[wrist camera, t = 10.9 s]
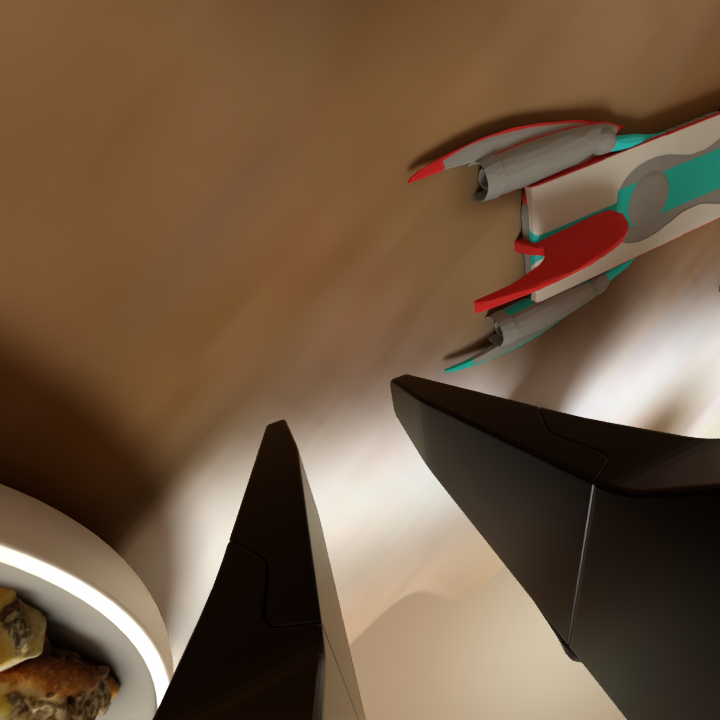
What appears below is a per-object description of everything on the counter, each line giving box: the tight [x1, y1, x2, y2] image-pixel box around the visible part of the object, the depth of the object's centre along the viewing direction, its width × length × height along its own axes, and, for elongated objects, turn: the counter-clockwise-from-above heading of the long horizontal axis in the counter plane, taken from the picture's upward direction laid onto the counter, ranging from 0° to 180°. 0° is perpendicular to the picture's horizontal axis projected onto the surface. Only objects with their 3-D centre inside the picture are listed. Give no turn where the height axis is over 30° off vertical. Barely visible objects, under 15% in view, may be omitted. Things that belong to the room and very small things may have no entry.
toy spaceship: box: [408, 110, 720, 372], centre depth 22 cm, size 27×11×5 cm, turn 109°
